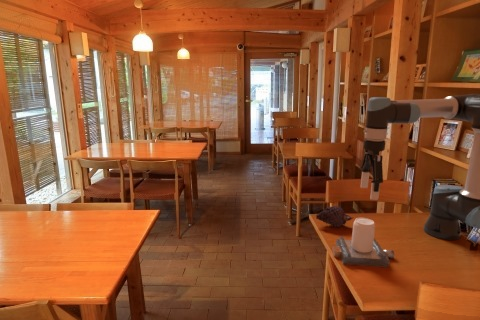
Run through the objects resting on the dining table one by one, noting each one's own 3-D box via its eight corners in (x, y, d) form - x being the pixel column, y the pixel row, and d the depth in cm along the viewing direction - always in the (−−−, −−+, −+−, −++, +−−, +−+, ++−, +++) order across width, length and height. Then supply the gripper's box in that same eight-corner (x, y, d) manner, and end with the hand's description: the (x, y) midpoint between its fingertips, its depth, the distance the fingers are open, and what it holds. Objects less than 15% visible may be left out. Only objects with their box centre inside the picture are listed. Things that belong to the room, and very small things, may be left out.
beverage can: (373, 254, 131) (377, 226, 128) (352, 252, 132) (355, 224, 130) (370, 245, 139) (373, 218, 136) (349, 242, 140) (352, 216, 137)
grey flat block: (386, 248, 142) (387, 238, 141) (399, 267, 128) (400, 257, 127) (330, 245, 144) (330, 235, 143) (336, 263, 130) (337, 253, 129)
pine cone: (317, 229, 159) (318, 209, 157) (313, 221, 169) (314, 202, 167) (354, 230, 159) (356, 211, 156) (348, 222, 168) (350, 203, 166)
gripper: (356, 133, 138) (351, 183, 143) (374, 145, 114) (368, 204, 119) (375, 134, 137) (369, 183, 142) (397, 146, 113) (389, 205, 118)
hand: (368, 193), depth 130 cm, fingers open, 13 cm apart
